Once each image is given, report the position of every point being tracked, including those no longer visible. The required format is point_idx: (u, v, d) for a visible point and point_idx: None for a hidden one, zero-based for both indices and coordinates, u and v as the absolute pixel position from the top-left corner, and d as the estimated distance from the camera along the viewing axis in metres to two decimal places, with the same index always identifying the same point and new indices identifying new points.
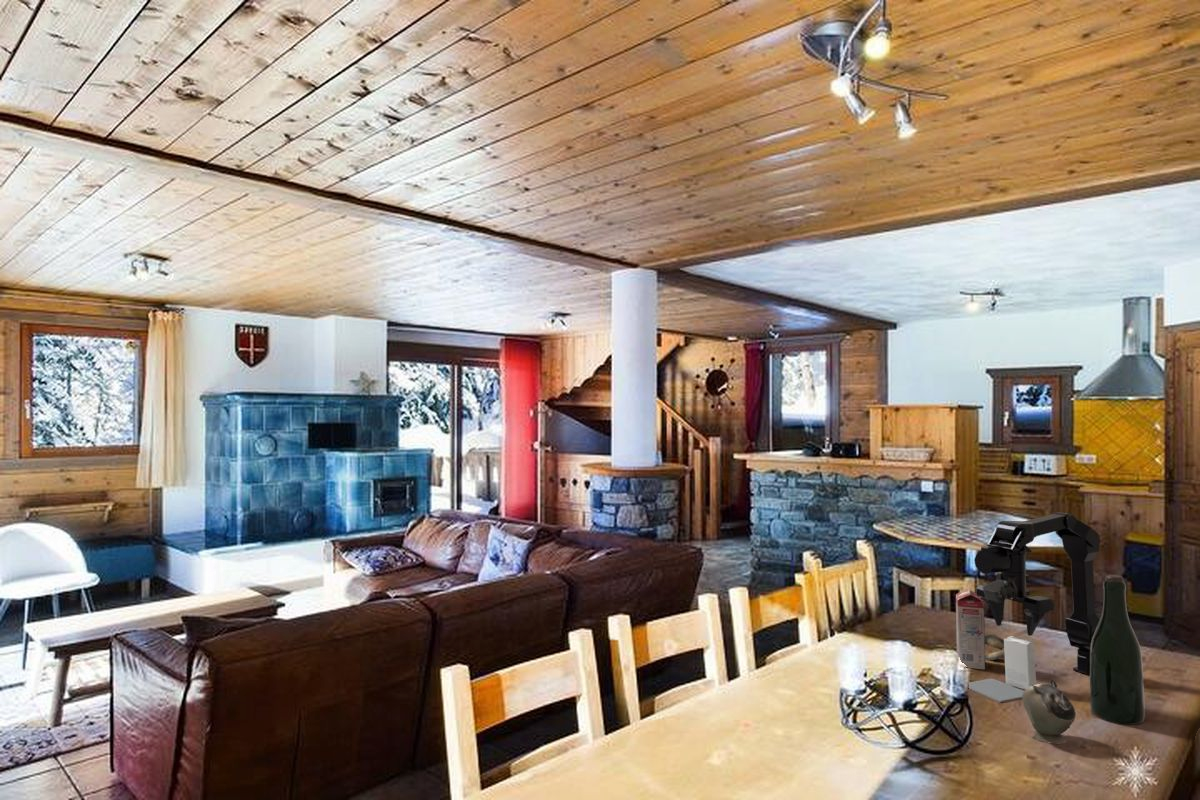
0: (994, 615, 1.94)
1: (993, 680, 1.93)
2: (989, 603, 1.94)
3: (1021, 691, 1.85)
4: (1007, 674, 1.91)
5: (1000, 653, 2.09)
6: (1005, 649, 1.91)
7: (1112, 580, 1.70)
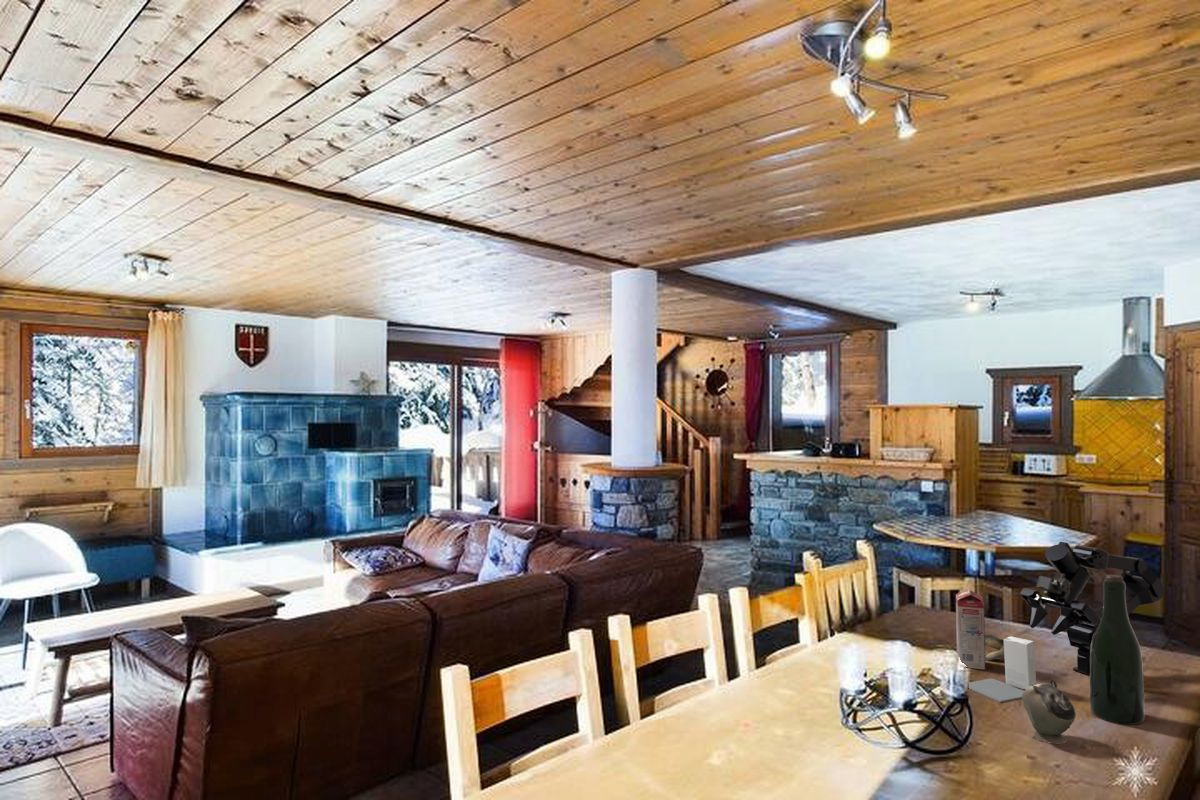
0: (1032, 616, 1.97)
1: (993, 680, 1.93)
2: (1035, 604, 1.98)
3: (1021, 691, 1.85)
4: (1007, 674, 1.91)
5: (998, 653, 2.09)
6: (1005, 649, 1.91)
7: (1112, 580, 1.70)
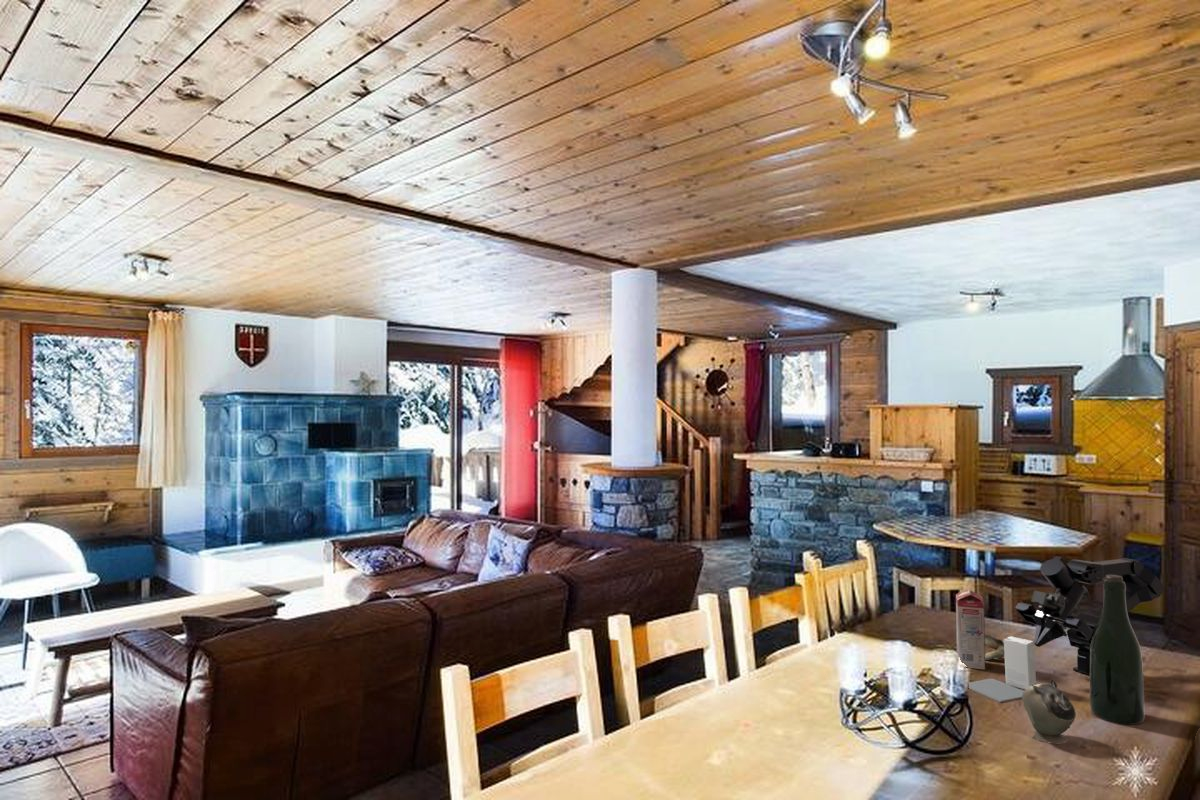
0: (1037, 634, 1.93)
1: (993, 680, 1.93)
2: (1039, 622, 1.94)
3: (1021, 691, 1.85)
4: (1007, 674, 1.91)
5: (995, 653, 2.09)
6: (1005, 649, 1.91)
7: (1112, 580, 1.70)
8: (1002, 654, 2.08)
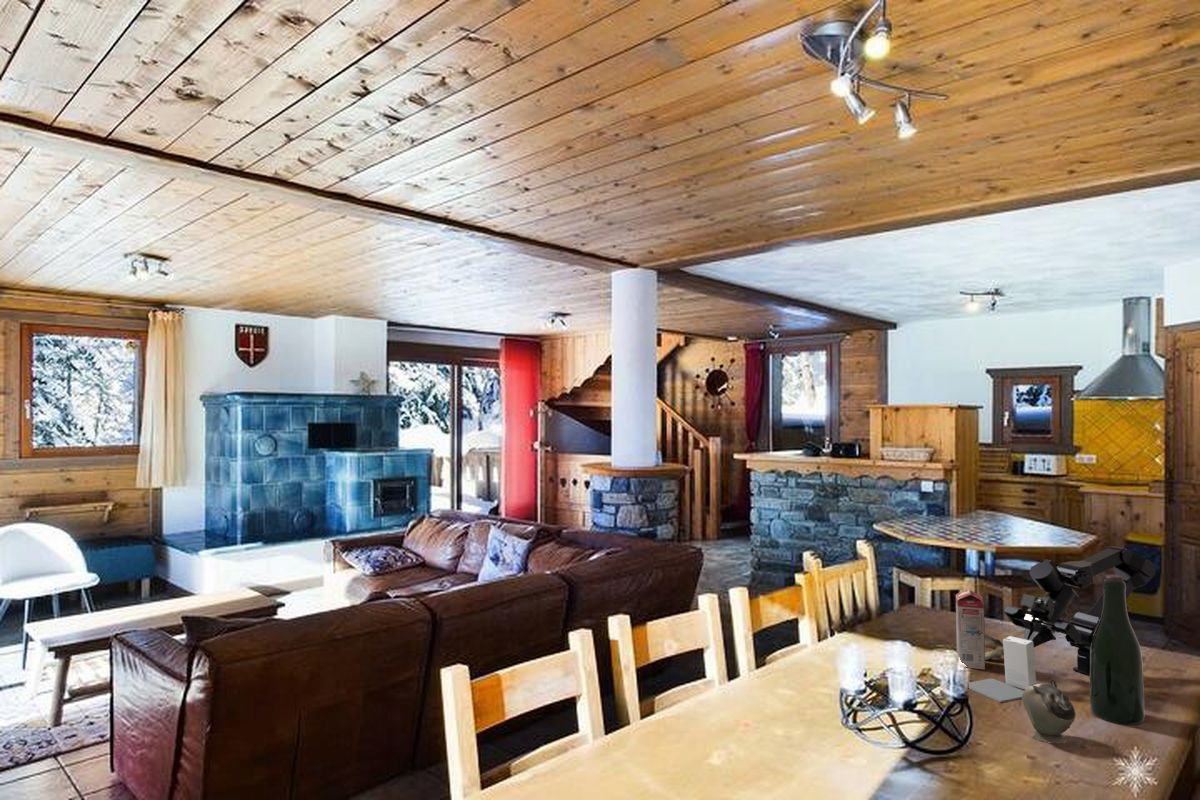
0: (1026, 638, 1.92)
1: (993, 680, 1.93)
2: (1028, 625, 1.93)
3: (1021, 691, 1.85)
4: (1007, 674, 1.90)
5: (993, 653, 2.09)
6: (1004, 649, 1.91)
7: (1112, 580, 1.70)
8: (1000, 654, 2.08)
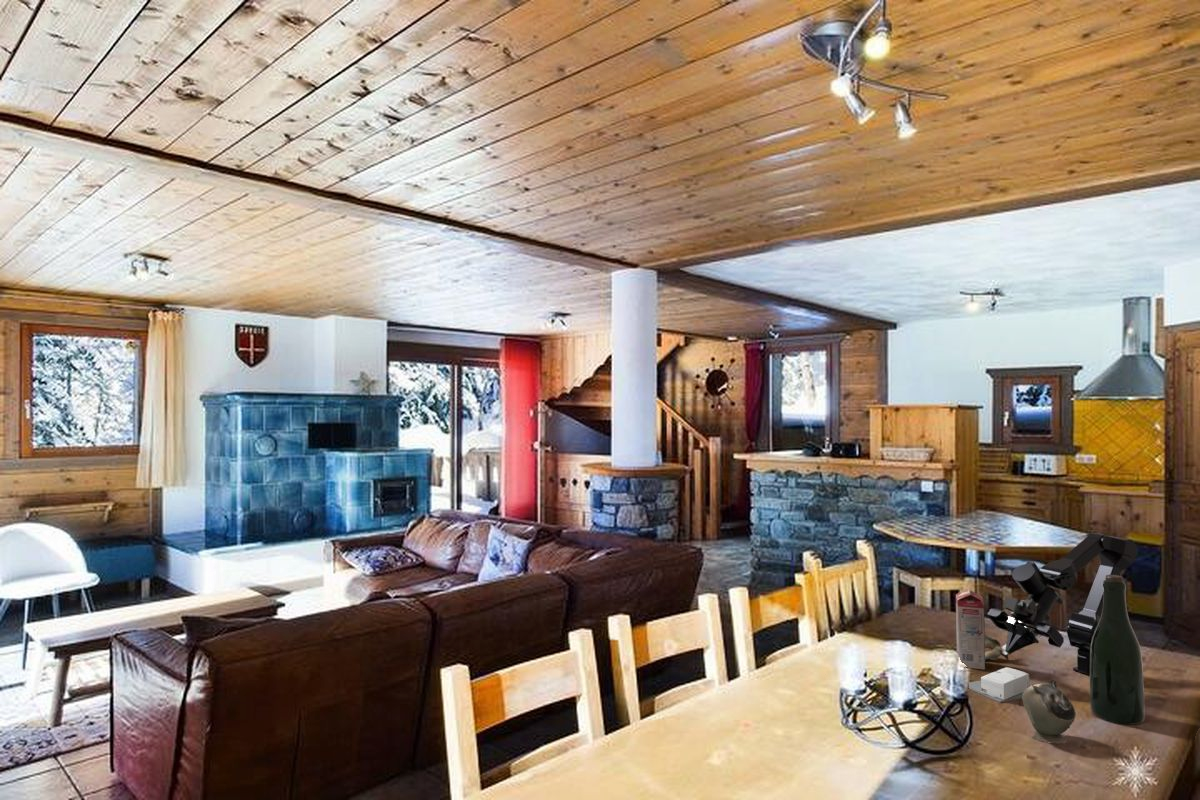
0: (1008, 641, 1.90)
1: None
2: (1011, 628, 1.91)
3: None
4: None
5: (991, 653, 2.09)
6: None
7: (1112, 580, 1.70)
8: (998, 654, 2.08)
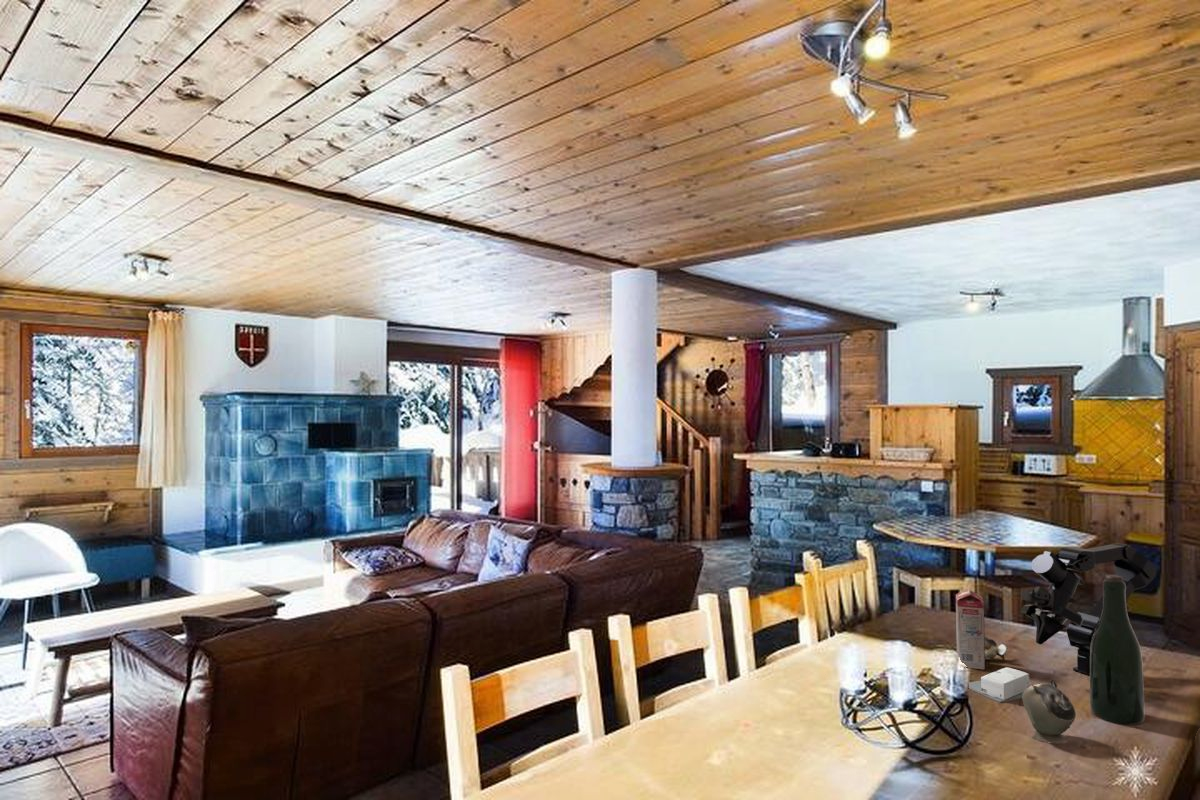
0: (1037, 632, 1.94)
1: None
2: (1037, 619, 1.95)
3: None
4: None
5: (987, 653, 2.09)
6: None
7: (1112, 580, 1.70)
8: (994, 654, 2.08)
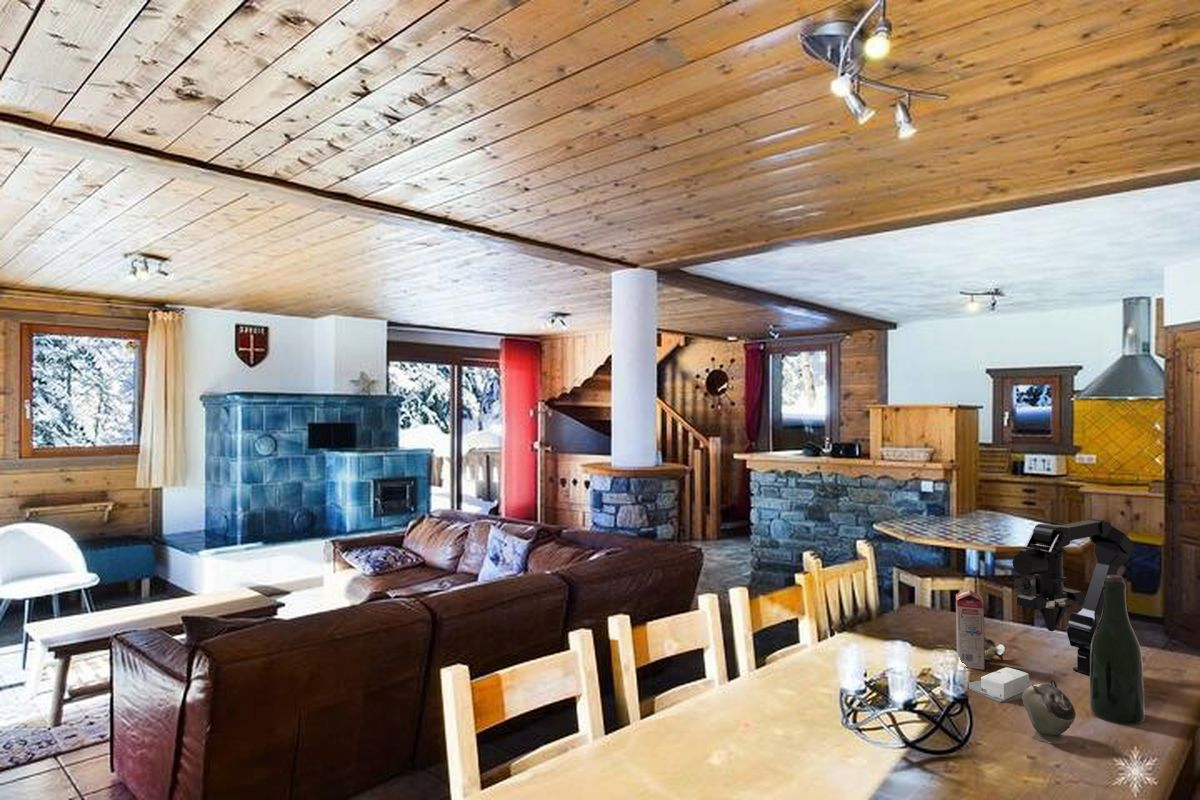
0: None
1: None
2: None
3: None
4: None
5: (985, 653, 2.09)
6: None
7: (1112, 580, 1.70)
8: (993, 654, 2.08)
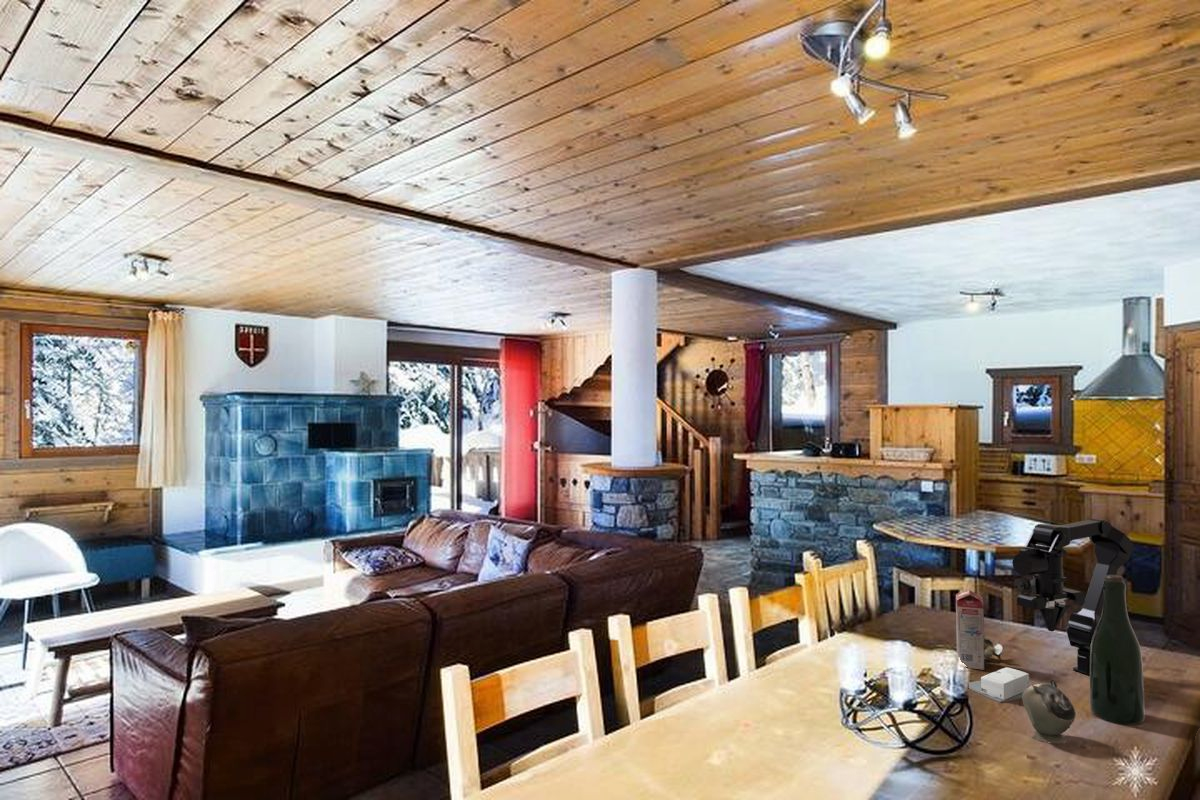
0: None
1: None
2: None
3: None
4: None
5: None
6: None
7: (1112, 579, 1.70)
8: (990, 654, 2.08)
